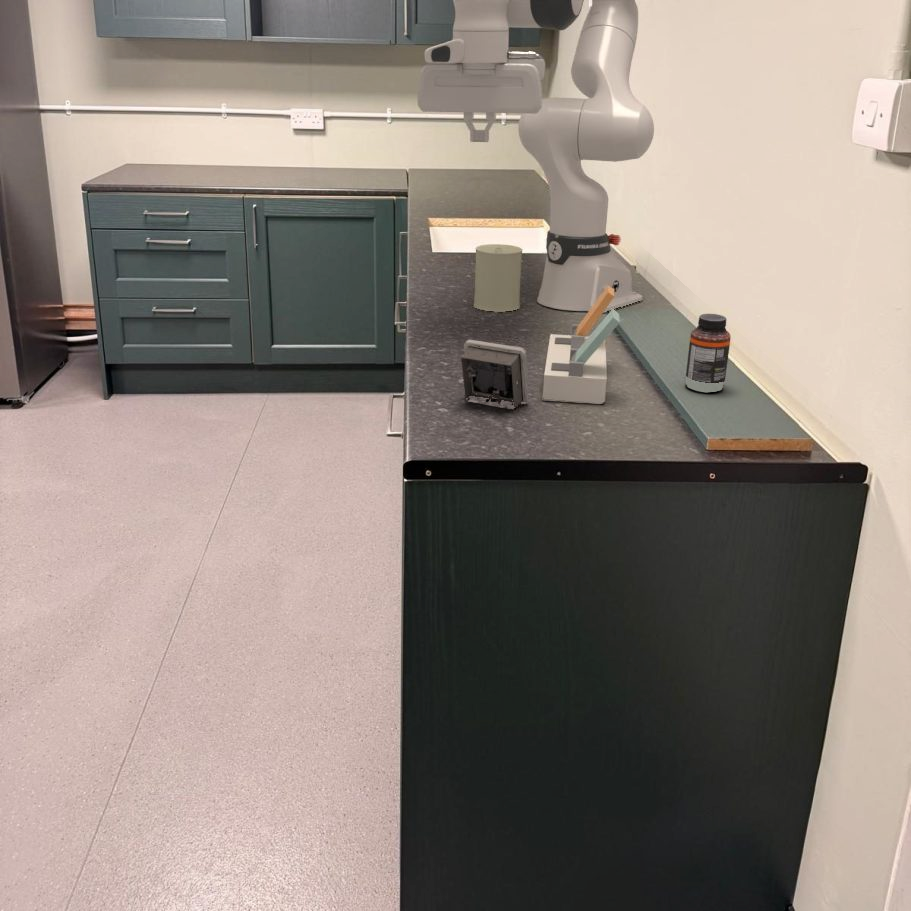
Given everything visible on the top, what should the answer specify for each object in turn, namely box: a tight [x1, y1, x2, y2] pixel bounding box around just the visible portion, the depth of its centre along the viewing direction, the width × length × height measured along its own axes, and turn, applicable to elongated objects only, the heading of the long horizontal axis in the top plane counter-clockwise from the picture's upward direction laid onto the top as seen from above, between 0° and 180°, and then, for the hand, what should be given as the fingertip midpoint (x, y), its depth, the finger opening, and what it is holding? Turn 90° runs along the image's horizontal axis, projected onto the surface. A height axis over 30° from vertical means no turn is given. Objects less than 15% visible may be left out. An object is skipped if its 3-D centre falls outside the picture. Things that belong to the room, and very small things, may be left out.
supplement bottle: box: [685, 313, 732, 383], centre depth 147 cm, size 6×6×11 cm
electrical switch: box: [460, 339, 530, 407], centre depth 138 cm, size 9×5×9 cm, turn 65°
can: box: [473, 243, 523, 313], centre depth 190 cm, size 9×9×12 cm
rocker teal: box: [572, 309, 621, 365], centre depth 141 cm, size 1×5×10 cm
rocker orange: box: [574, 286, 615, 338], centre depth 154 cm, size 1×5×10 cm
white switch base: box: [542, 323, 608, 402], centre depth 153 cm, size 9×28×6 cm, turn 172°
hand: (479, 141), depth 160 cm, fingers closed
